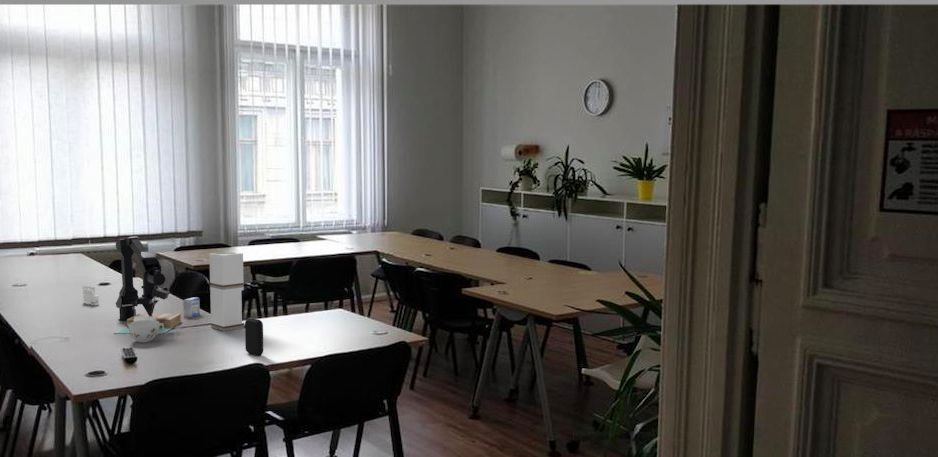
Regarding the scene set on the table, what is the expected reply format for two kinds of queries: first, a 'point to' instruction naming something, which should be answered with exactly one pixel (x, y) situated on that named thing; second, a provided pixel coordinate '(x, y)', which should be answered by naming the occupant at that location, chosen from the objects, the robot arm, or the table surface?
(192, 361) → the table surface
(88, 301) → the ink cartridge box
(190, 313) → the medicine box
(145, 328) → the teacup
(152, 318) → the white rectangular block
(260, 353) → the carrying case or bag
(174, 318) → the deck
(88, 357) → the table surface
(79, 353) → the table surface
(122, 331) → the mat
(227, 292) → the white square table lamp
